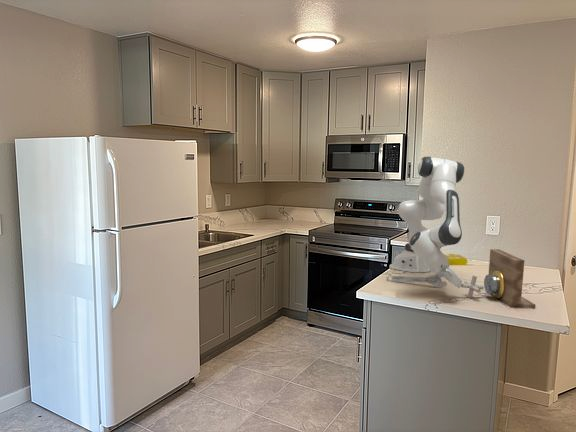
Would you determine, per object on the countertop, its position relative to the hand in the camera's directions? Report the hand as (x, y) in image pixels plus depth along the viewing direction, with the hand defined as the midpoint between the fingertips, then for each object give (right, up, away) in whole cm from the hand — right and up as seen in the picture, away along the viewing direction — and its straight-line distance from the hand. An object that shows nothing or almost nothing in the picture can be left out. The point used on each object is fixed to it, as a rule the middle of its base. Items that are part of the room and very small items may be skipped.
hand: (459, 286), depth 194 cm
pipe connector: (+5, -5, +1) cm, 7 cm away
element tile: (+24, +2, +74) cm, 78 cm away
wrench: (-13, -3, +20) cm, 24 cm away
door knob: (+15, -5, 0) cm, 15 cm away
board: (+22, -6, 0) cm, 23 cm away
